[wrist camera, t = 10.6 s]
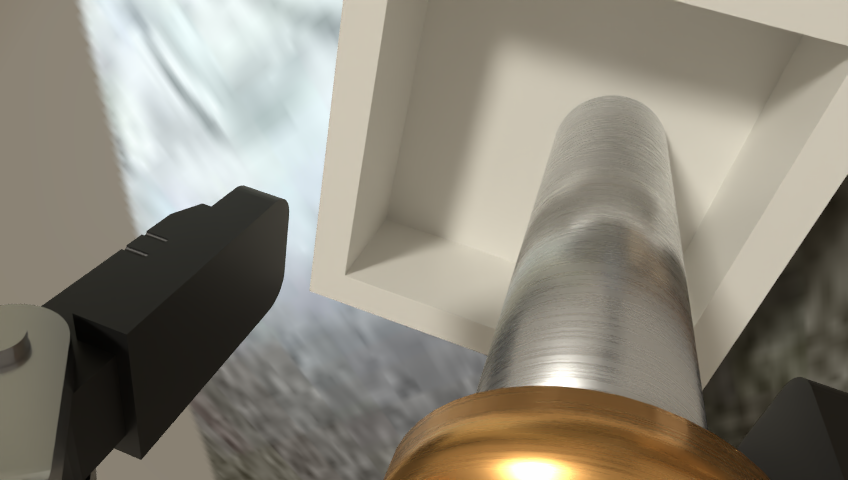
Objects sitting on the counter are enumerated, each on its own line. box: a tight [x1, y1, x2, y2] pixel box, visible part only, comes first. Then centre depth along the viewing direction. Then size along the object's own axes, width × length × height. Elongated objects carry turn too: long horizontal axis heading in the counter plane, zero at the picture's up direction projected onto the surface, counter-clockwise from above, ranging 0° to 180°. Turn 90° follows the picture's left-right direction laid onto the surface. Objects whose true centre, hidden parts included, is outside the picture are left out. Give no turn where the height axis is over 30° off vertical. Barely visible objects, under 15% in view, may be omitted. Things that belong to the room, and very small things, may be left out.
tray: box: [310, 0, 848, 391], centre depth 16 cm, size 11×11×4 cm
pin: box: [384, 95, 770, 480], centre depth 11 cm, size 4×4×13 cm
